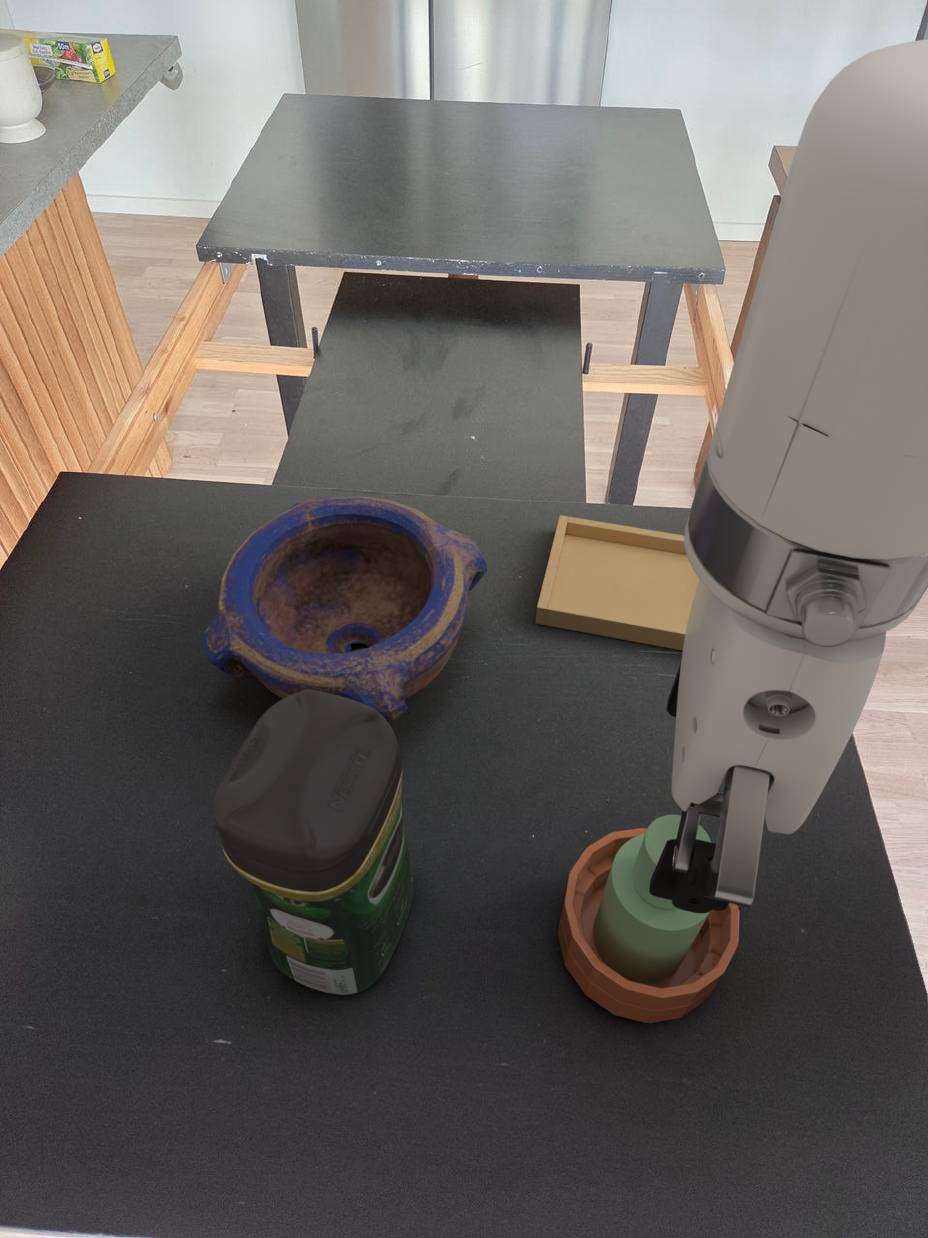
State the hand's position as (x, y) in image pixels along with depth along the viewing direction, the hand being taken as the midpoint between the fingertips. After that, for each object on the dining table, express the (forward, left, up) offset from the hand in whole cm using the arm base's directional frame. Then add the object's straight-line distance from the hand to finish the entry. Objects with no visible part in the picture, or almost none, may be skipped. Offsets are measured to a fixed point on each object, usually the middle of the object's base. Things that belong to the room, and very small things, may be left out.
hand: (692, 799), depth 39 cm
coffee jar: (+18, +3, -17) cm, 25 cm away
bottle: (0, 0, -17) cm, 17 cm away
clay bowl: (0, 0, -17) cm, 17 cm away
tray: (+3, -30, -17) cm, 35 cm away
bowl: (+24, -17, -17) cm, 34 cm away
